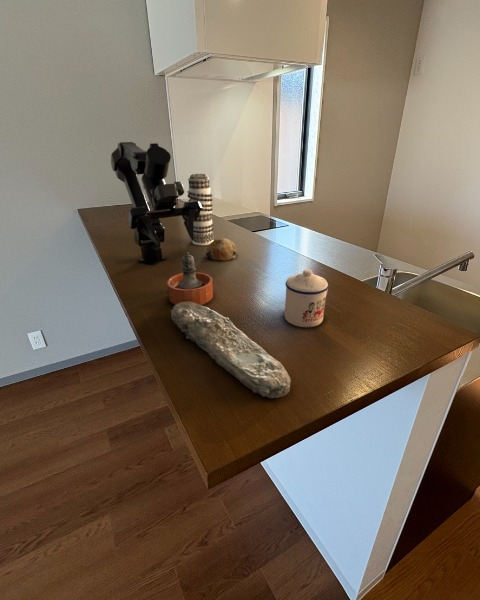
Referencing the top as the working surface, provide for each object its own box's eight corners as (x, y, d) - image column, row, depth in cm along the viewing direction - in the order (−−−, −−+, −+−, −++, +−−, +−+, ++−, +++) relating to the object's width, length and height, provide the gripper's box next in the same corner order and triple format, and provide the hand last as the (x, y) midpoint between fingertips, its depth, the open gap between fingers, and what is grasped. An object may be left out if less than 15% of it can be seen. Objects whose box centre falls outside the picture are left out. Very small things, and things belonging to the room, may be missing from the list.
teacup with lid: (305, 333, 67) (310, 283, 62) (275, 316, 73) (277, 269, 68) (339, 315, 74) (347, 268, 68) (309, 301, 80) (313, 257, 75)
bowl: (160, 301, 81) (157, 283, 78) (189, 285, 89) (187, 269, 87) (194, 313, 75) (192, 294, 73) (221, 294, 84) (220, 277, 81)
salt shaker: (175, 299, 81) (170, 254, 75) (187, 289, 85) (183, 246, 80) (195, 303, 79) (191, 256, 73) (206, 293, 83) (203, 249, 78)
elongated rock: (259, 420, 48) (303, 393, 54) (262, 394, 46) (308, 369, 52) (159, 317, 72) (197, 306, 78) (157, 297, 70) (197, 287, 75)
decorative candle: (186, 242, 125) (180, 174, 114) (203, 237, 131) (199, 172, 120) (202, 247, 120) (197, 176, 108) (219, 241, 126) (216, 174, 114)
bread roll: (227, 271, 107) (237, 251, 103) (200, 257, 107) (208, 237, 103) (233, 261, 116) (242, 242, 112) (208, 248, 115) (216, 229, 111)
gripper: (122, 173, 74) (143, 230, 71) (196, 168, 83) (217, 219, 79) (121, 202, 84) (139, 254, 80) (187, 195, 92) (206, 242, 89)
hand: (176, 241), depth 82 cm, fingers open, 9 cm apart
